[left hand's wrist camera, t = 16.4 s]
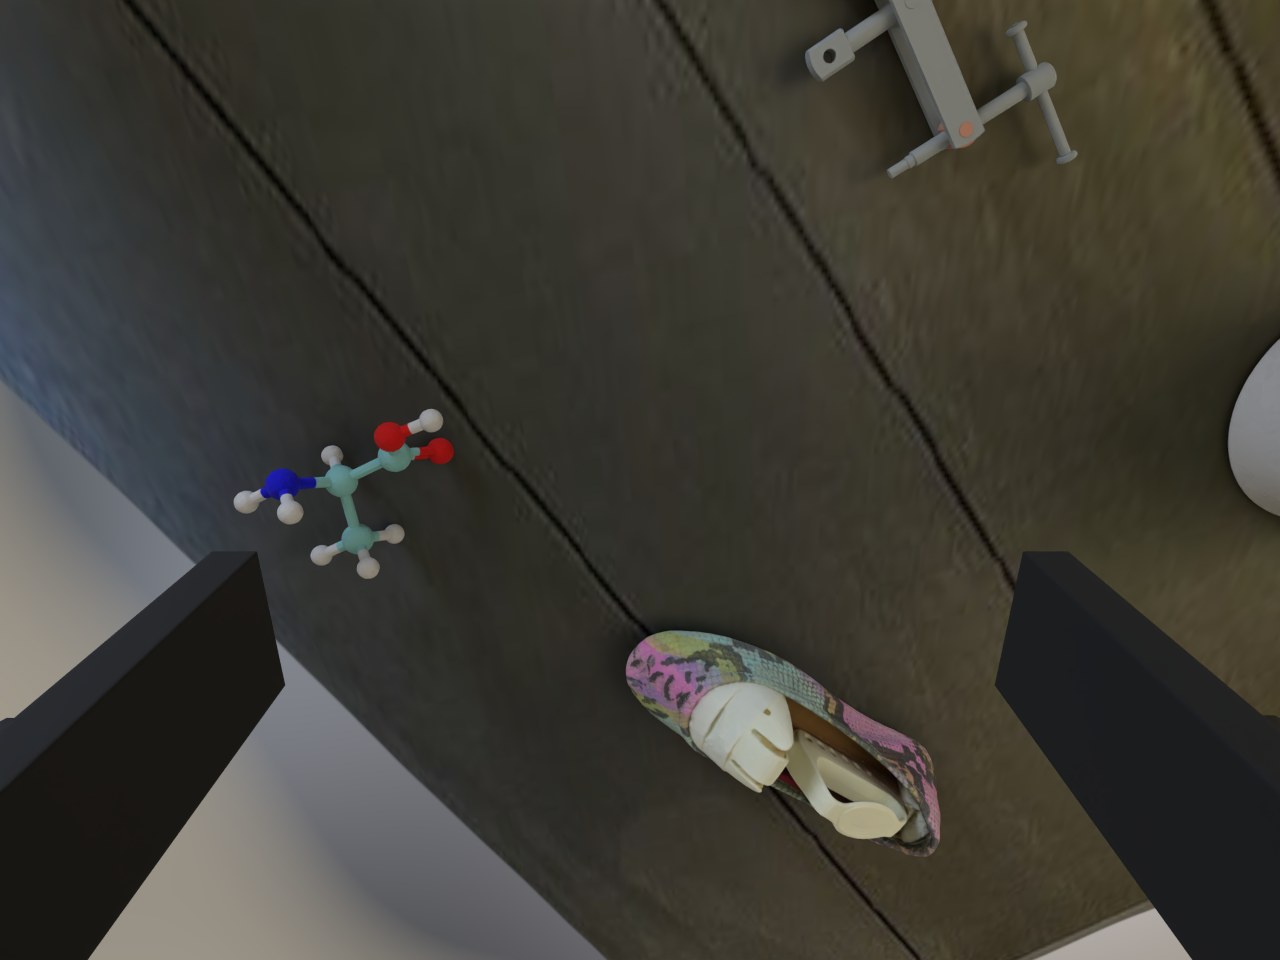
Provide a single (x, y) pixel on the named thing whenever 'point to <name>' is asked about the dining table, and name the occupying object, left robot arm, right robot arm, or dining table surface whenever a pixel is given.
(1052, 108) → the clamp
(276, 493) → the molecular model
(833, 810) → the ballet flat
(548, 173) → the dining table surface
